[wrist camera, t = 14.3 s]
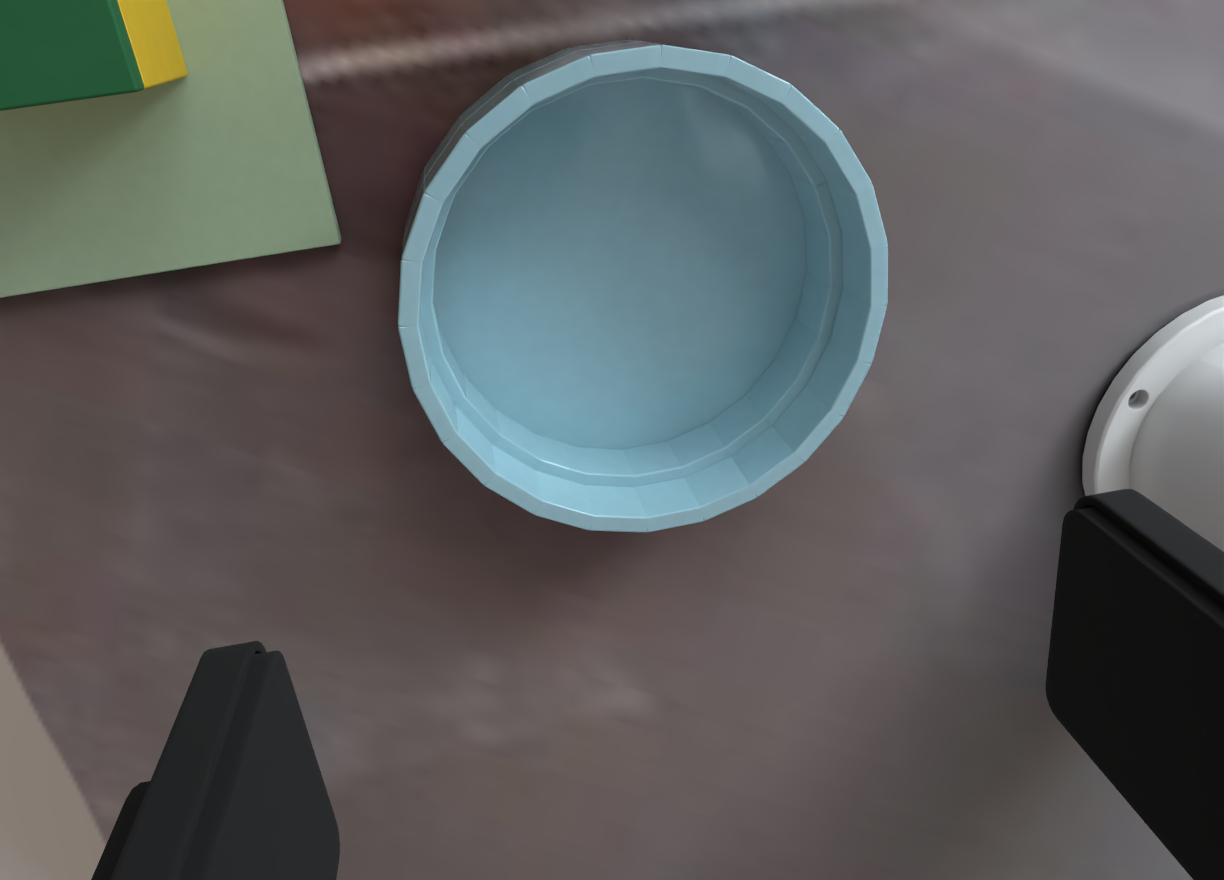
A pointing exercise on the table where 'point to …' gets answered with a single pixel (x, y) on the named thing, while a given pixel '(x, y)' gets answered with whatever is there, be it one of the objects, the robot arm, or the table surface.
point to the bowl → (640, 285)
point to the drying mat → (169, 163)
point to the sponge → (84, 49)
